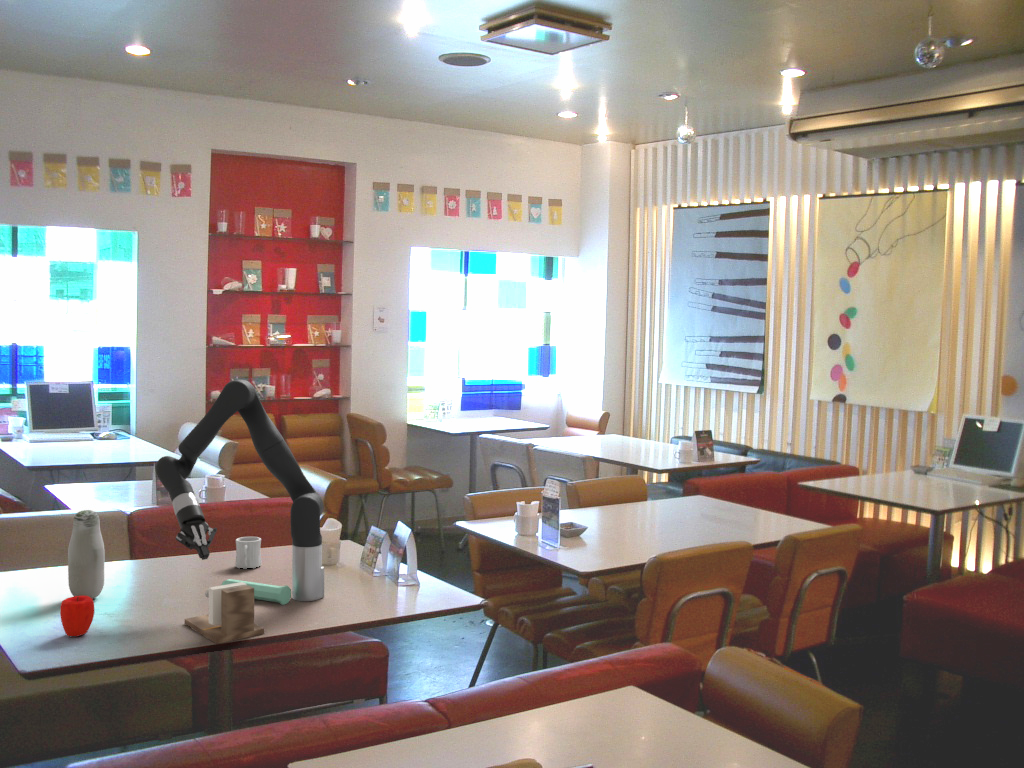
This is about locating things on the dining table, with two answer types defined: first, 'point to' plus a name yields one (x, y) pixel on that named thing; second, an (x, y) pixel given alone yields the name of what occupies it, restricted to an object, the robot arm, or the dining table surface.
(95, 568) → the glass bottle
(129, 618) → the dining table surface
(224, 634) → the rod rig
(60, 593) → the dining table surface
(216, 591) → the white square block
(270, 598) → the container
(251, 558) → the mug
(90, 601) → the apple
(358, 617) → the dining table surface
